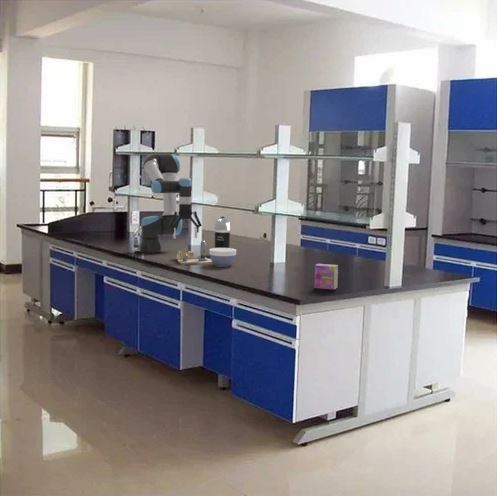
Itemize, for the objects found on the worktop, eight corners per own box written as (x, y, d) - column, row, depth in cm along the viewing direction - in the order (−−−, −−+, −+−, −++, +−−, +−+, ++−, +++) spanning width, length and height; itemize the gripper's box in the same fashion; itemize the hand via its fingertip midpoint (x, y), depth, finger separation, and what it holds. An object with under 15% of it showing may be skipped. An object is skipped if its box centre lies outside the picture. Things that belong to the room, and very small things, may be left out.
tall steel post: (197, 259, 431) (197, 240, 430) (205, 259, 433) (206, 240, 431) (200, 261, 426) (200, 241, 425) (208, 260, 428) (208, 241, 426)
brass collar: (176, 259, 441) (176, 251, 440) (189, 258, 444) (189, 250, 443) (180, 261, 433) (180, 253, 432) (193, 260, 436) (193, 252, 435)
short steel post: (182, 260, 427) (182, 254, 426) (187, 260, 428) (187, 254, 427) (183, 261, 424) (183, 254, 423) (188, 261, 425) (188, 254, 424)
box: (314, 288, 357) (314, 264, 355) (317, 286, 362) (318, 263, 360) (334, 290, 352) (334, 266, 351) (337, 288, 358) (338, 264, 356)
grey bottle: (227, 256, 456) (228, 217, 453) (212, 255, 458) (212, 216, 455) (231, 254, 466) (232, 216, 463) (216, 253, 468) (216, 215, 465)
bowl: (231, 268, 410) (231, 252, 408) (205, 266, 414) (205, 250, 413) (239, 264, 425) (239, 248, 424) (214, 262, 429) (214, 247, 428)
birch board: (177, 261, 431) (177, 259, 430) (209, 260, 437) (209, 258, 437) (183, 264, 419) (183, 262, 419) (215, 263, 426) (215, 261, 426)
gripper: (166, 204, 426) (166, 239, 428) (206, 203, 434) (206, 238, 437) (163, 203, 433) (163, 238, 435) (203, 203, 441) (203, 237, 444)
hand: (185, 238), depth 436 cm, fingers open, 13 cm apart
